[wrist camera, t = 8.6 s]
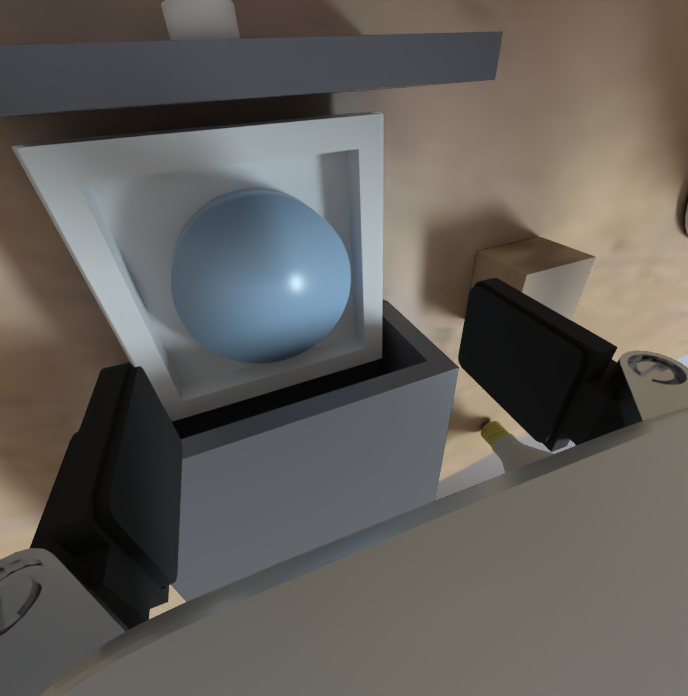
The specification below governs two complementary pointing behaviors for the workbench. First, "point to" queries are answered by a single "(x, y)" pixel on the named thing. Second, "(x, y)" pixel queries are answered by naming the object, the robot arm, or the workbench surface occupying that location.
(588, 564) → the robot arm
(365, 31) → the workbench surface
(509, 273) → the brown block
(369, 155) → the grey drawer
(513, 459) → the light bulb
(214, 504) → the box
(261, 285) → the pale blue dome cap
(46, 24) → the workbench surface
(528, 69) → the workbench surface
